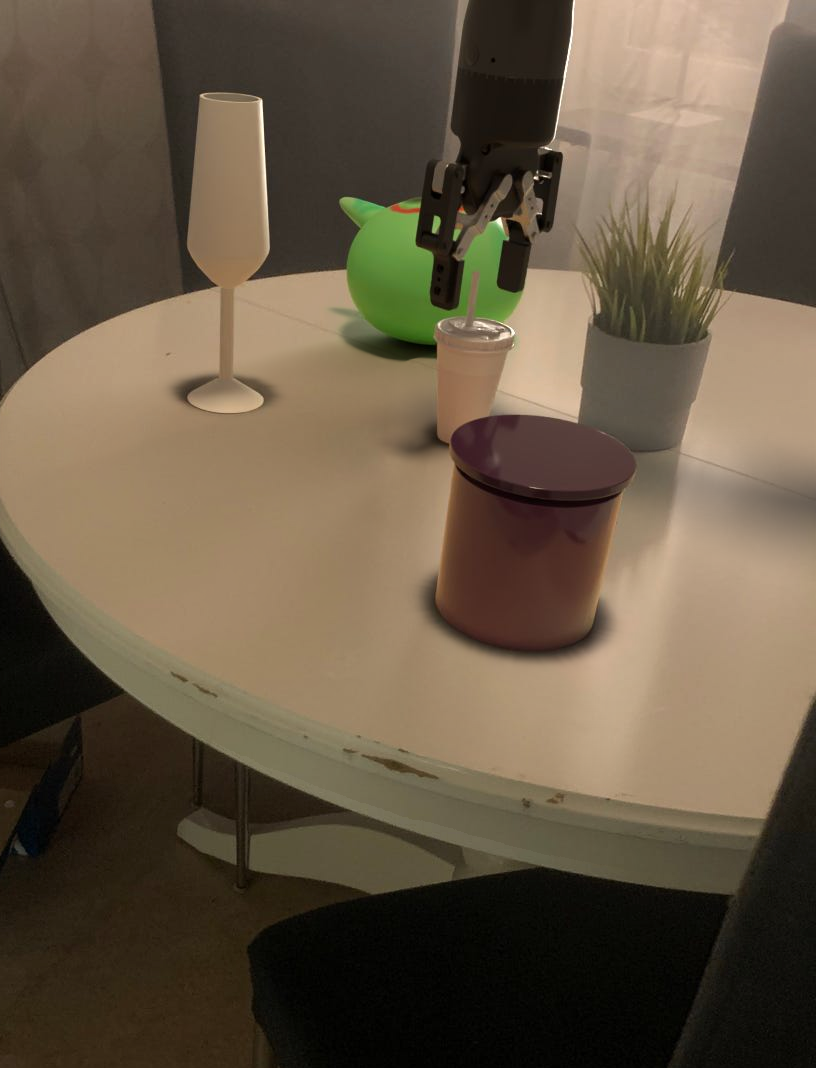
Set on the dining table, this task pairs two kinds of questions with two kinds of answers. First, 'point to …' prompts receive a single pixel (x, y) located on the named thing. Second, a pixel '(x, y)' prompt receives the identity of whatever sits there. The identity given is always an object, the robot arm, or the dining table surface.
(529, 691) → the dining table surface
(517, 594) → the jar
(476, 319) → the smoothie
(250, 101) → the champagne flute
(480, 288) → the green rounded blob
